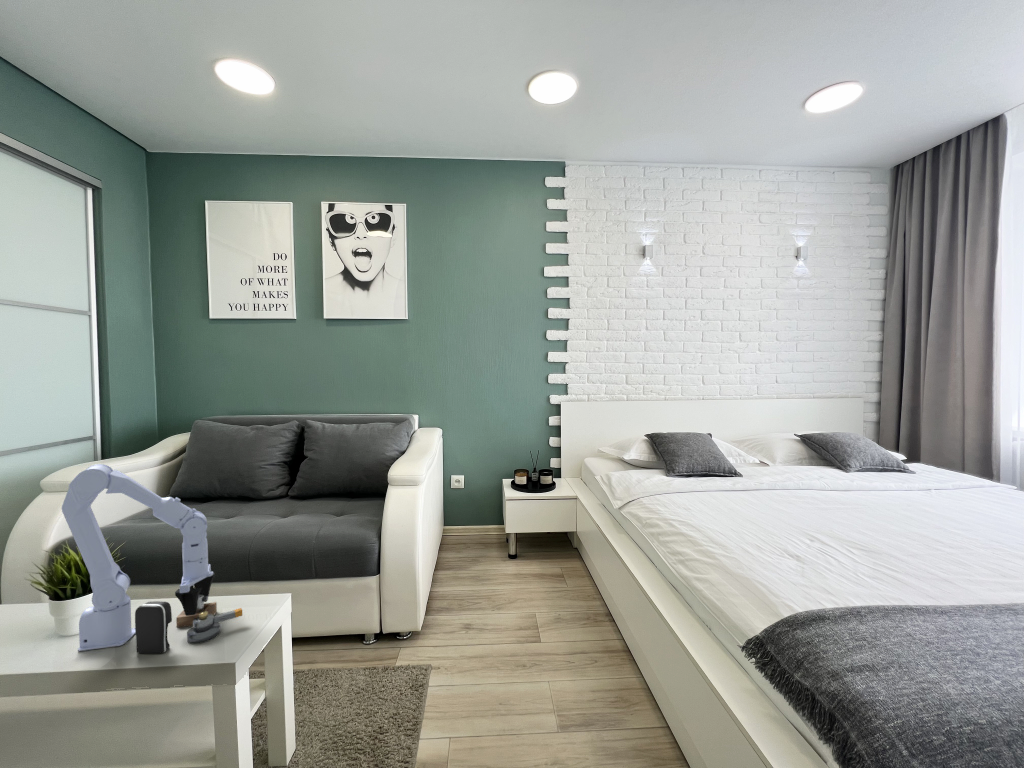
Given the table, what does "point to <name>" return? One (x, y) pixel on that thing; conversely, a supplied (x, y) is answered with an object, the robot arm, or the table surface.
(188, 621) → the holder
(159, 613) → the battery charger
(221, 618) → the collar
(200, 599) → the key
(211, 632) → the base
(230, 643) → the table surface
